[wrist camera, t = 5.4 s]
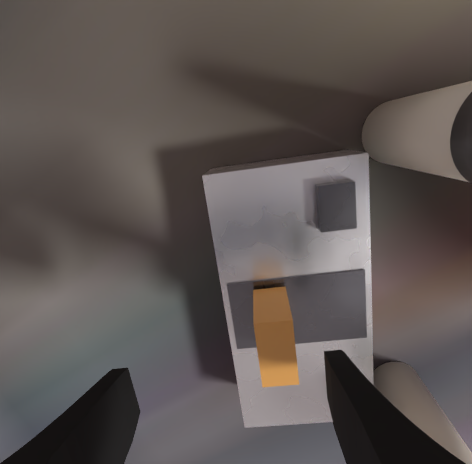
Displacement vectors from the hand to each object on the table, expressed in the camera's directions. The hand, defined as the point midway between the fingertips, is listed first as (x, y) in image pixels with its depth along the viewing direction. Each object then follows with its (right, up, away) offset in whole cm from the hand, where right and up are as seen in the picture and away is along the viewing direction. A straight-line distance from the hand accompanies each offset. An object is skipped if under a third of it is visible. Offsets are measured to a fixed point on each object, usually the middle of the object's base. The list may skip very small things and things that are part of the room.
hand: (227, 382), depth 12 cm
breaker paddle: (+2, +1, +4) cm, 5 cm away
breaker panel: (+3, +3, +7) cm, 8 cm away
